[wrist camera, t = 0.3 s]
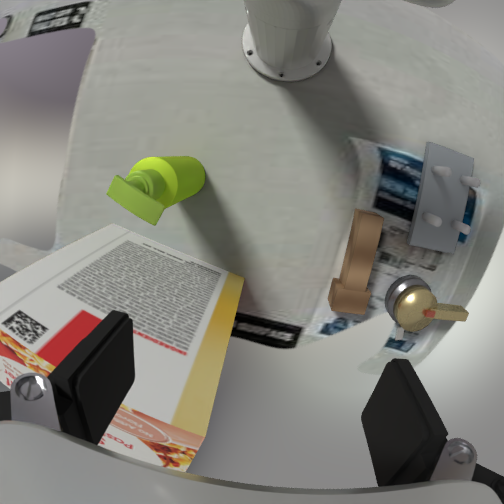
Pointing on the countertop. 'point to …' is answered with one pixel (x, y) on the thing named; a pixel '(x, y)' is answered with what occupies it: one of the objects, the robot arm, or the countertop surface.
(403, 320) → the gold lever handle
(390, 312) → the base
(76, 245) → the orange cereal box
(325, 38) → the robot arm
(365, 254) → the tan wooden bar
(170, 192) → the soap dispenser
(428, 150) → the rack
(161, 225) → the countertop surface
